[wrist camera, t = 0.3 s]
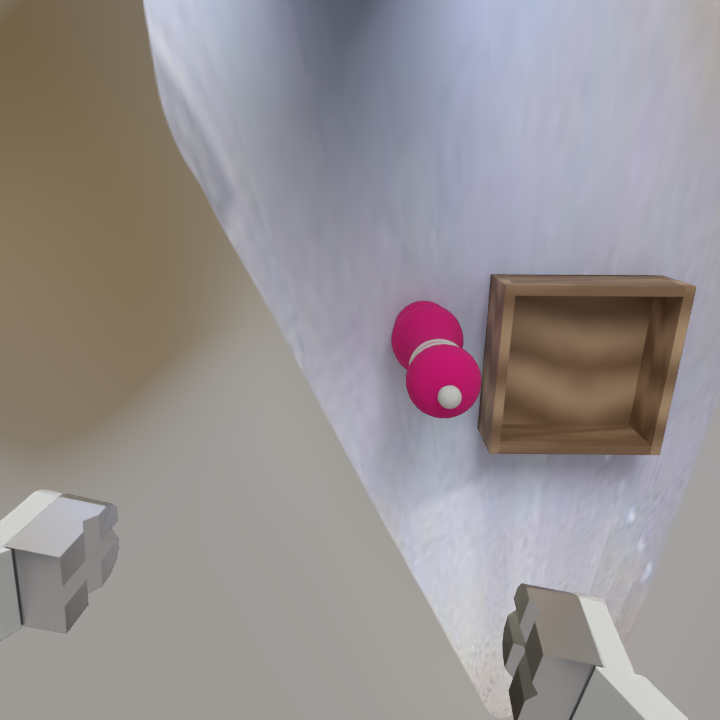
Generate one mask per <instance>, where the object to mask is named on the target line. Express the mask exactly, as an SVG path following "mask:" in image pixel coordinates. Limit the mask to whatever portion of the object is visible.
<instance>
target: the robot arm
mask: <svg viewBox="0 0 720 720" xmlns="http://www.w3.org/2000/svg"><path fill="white" fill-rule="evenodd" d="M117 521H118V512H117V507H116V506H115V505H113V504H111V503H107V502H102V501H98V500H93V499H88V498H84V497H80V496H75V495H71V494H63V493H59V492H54V491H50V490H46V489H41V490H38V491H35V492H34V493H32V494H31V495H30V496H29V497H28V498H27V499H25V500H24V501H23V502H22V503H21V504H20V505H18V506H17V507H16V508H15V509H14V510H13V511H12V512H10V513H9V514H8V515H7V516H6V517H4V518H3V519H2V520H1V521H0V642H1V641H2V640H4V639H6V638H7V637H9V636H10V635H12V634H14V633H15V632H17V631H18V630H20V629H21V626H26V627H31V628H37V629H43V630H49V631H54V632H60V633H66V634H67V632H68V631H69V630H70V628H71V627H72V626H73V625H74V623H75V622H76V621H77V619H78V618H79V617H80V615H81V614H82V612H83V611H84V610H85V609H86V607H87V606H88V593H90V592H92V591H94V590H96V589H98V588H100V587H102V586H103V584H104V583H105V581H106V580H107V579H108V577H109V576H110V574H111V572H112V569H113V567H114V565H115V563H116V560H117V556H118V550H119V538H118V537H117V535H116V534H115V533H114V531H113V530H112V527H113V526H114V525H115V523H117ZM514 601H515V606H516V610H515V611H514V612H512V613H511V614H509V615H508V617H507V620H506V624H505V627H504V633H503V642H502V646H503V659H504V666H505V669H506V670H507V671H508V673H509V674H510V675H511V676H512V678H513V680H512V683H511V686H510V688H509V695H510V701H511V707H512V712H513V718H514V720H689V719H688V718H687V717H685V716H684V715H683V714H682V713H681V712H680V711H679V710H678V709H677V708H676V707H675V706H674V705H673V704H672V703H671V702H670V701H669V700H668V699H667V698H666V697H665V696H664V695H663V694H662V693H661V692H660V691H659V690H657V688H655V686H653V685H652V684H651V683H650V682H649V681H648V680H647V679H646V678H645V677H644V676H640V675H636V674H635V672H634V670H633V667H632V665H631V663H630V660H629V658H628V656H627V653H626V651H625V649H624V646H623V644H622V642H621V639H620V637H619V635H618V632H617V630H616V628H615V625H614V623H613V621H612V618H611V616H610V614H609V611H608V609H607V607H606V604H605V602H604V601H603V600H602V599H601V598H600V597H595V596H590V595H584V594H578V593H570V592H565V591H560V590H554V589H549V588H544V587H538V586H533V585H528V584H522V583H521V584H520V586H519V587H518V588H517V591H516V594H515V597H514Z"/></svg>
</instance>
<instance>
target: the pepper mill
mask: <svg viewBox="0 0 720 720" xmlns="http://www.w3.org/2000/svg"><path fill="white" fill-rule="evenodd" d="M391 342H392V348H393V352H394V354H395V356H396V358H397V360H398V361H399V363H400V364H401V365H402V366H403V367H404V368H405V369H407V370H408V371H407V375H406V387H407V391H408V394H409V396H410V398H411V400H412V402H413V403H414V404H415V405H416V407H417V408H418V409H420V410H421V411H422V412H424V413H426V414H428V415H430V416H433V417H437V418H451V417H455V416H458V415H460V414H462V413H464V412H465V411H467V410H468V409H469V408H470V407H471V406H472V405H473V404H474V402H475V401H476V399H477V397H478V395H479V393H480V388H481V373H480V370H479V367H478V365H477V363H476V362H475V360H474V359H473V357H472V356H471V355H470V354H469V353H468V352H466V351H465V350H464V349H462V347H463V333H462V330H461V327H460V324H459V322H458V321H457V319H456V318H455V317H454V315H453V314H451V313H450V312H449V311H448V310H446V309H444V308H442V307H441V306H439V305H437V304H435V303H433V302H428V301H419V302H415V303H412V304H410V305H408V306H407V307H405V308H404V309H403V310H402V311H401V312H400V313H399V315H398V317H397V319H396V321H395V325H394V329H393V332H392V339H391Z"/></svg>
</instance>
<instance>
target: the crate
mask: <svg viewBox="0 0 720 720" xmlns="http://www.w3.org/2000/svg"><path fill="white" fill-rule="evenodd" d="M695 291H696V286H693V285H690V284H687V283H684V282H681V281H678V280H674V279H671V278H668V277H665V276H647V275H501V274H491V283H490V294H489V306H488V317H487V328H486V340H485V351H484V363H483V374H482V385H481V397H480V408H479V419H478V430H479V432H480V434H481V436H482V438H483V441H484V443H485V445H486V447H487V449H488V451H489V453H496V454H608V455H660V451H661V446H662V442H663V437H664V432H665V428H666V423H667V419H668V414H669V410H670V405H671V400H672V396H673V391H674V387H675V382H676V378H677V373H678V368H679V364H680V359H681V355H682V350H683V346H684V341H685V336H686V332H687V327H688V323H689V318H690V314H691V309H692V304H693V300H694V295H695Z"/></svg>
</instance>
